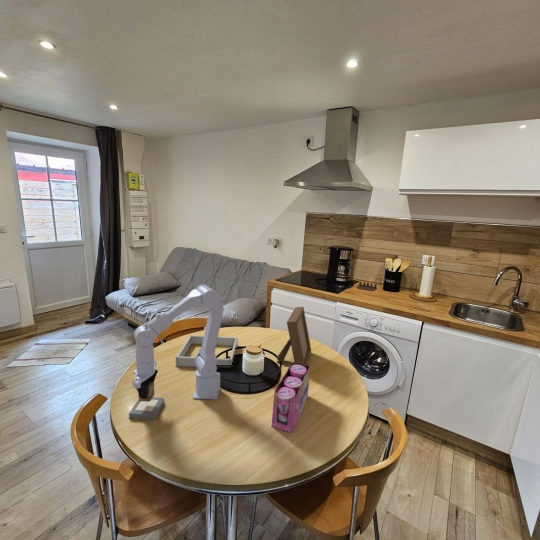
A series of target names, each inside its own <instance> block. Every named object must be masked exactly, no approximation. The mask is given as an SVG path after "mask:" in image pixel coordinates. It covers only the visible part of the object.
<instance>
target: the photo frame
mask: <svg viewBox="0 0 540 540" xmlns="http://www.w3.org/2000/svg"><path fill="white" fill-rule="evenodd" d="M305 313H306V311H305V307H304V306H297V307H294V309H293V311H292V312H291V314H290V316H289V318H288V319H287V321H286V325H287V330H288V336H289V339H288V340H287V342H286V343H285V345H284V346H283V347H282V349H281V350H280V352H279V353H278V354H277V360H276V363H277V364H279V363H280V362H279V361H278V358H279V359H280V360H281V362H284V361H285V359H286V357H287V354H288V352H289V350H290V349H291V351H292V356H293V357H292V358H293V362H296V363H301V364H305V365H308V364H309V361H310V358H311V354H312V346H311V341H310V335H309V330H308V325H307V319H306V314H305ZM308 366H309V365H308Z"/></svg>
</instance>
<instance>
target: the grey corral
mask: <svg viewBox="0 0 540 540" xmlns="http://www.w3.org/2000/svg"><path fill="white" fill-rule="evenodd" d="M203 338H204V335H194V334H191V335H188V337H187V339H186V341H185V342H184V343H183V345H182V347H181V348H180V349H179V351H178V353H177V355H176V356H175V367H189V368H190V367H191V368H197V366H195V364H194V359H195V357H196V356H186V353H187V352H188V351H189V348H190V347H191V345H202V343H203ZM216 346H226V347H228V346H229V347H232V350H231V352H230V357H229V358H225V357H223V358H222V357H221V358H218V357H216V365H232V362H233V363H234V361H233V358H234V359H235V357H234V355H235V356H236V352H237V349H236V350H235V348H238V337H234V336H233V337H232V336H218V339H217V343H216ZM232 366H233V365H232Z"/></svg>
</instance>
